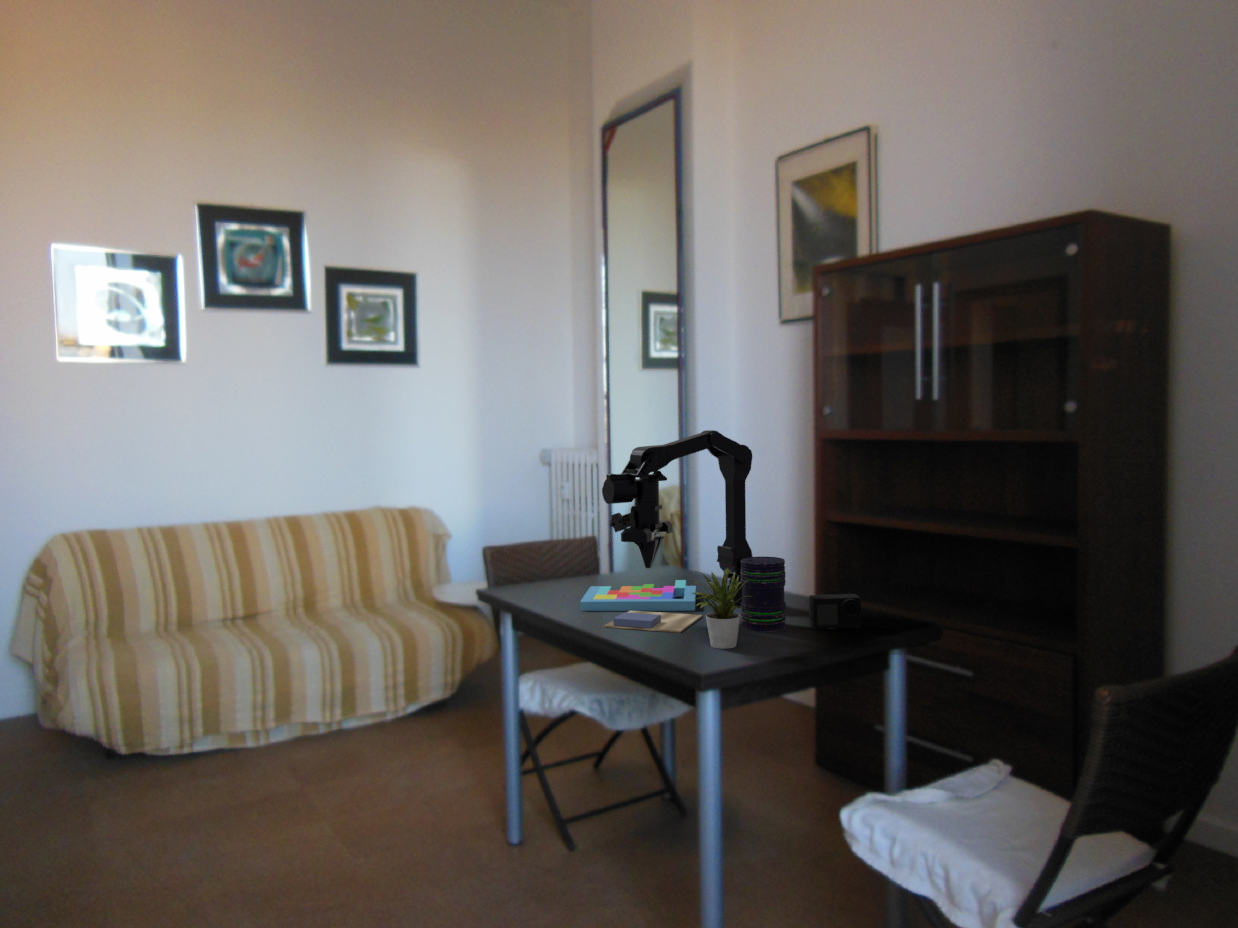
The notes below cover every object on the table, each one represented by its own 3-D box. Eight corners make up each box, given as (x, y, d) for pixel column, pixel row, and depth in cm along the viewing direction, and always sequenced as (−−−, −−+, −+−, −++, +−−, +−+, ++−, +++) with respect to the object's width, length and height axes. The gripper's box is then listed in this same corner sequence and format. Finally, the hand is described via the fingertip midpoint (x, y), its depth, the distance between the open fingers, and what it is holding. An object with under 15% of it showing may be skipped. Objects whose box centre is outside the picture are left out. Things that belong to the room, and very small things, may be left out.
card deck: (660, 614, 203) (650, 620, 197) (660, 621, 204) (651, 628, 198) (624, 612, 207) (613, 618, 201) (624, 619, 207) (613, 625, 201)
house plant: (690, 634, 193) (688, 559, 192) (755, 635, 190) (753, 559, 190) (684, 652, 179) (682, 571, 178) (754, 653, 176) (753, 571, 176)
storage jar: (786, 622, 202) (785, 556, 201) (786, 632, 193) (785, 563, 192) (742, 621, 204) (741, 556, 203) (740, 631, 194) (738, 563, 194)
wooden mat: (701, 616, 210) (701, 614, 210) (680, 632, 195) (680, 630, 195) (630, 611, 216) (630, 610, 216) (604, 627, 202) (604, 625, 202)
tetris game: (695, 612, 216) (696, 590, 244) (694, 601, 216) (696, 579, 244) (580, 612, 219) (594, 590, 247) (580, 601, 219) (594, 580, 247)
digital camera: (815, 631, 193) (815, 599, 193) (809, 625, 199) (808, 594, 198) (862, 630, 194) (862, 598, 193) (855, 624, 199) (855, 593, 199)
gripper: (629, 496, 219) (630, 560, 220) (598, 504, 202) (600, 573, 202) (672, 497, 215) (673, 562, 215) (645, 505, 197) (646, 575, 198)
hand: (648, 567), depth 208 cm, fingers closed
